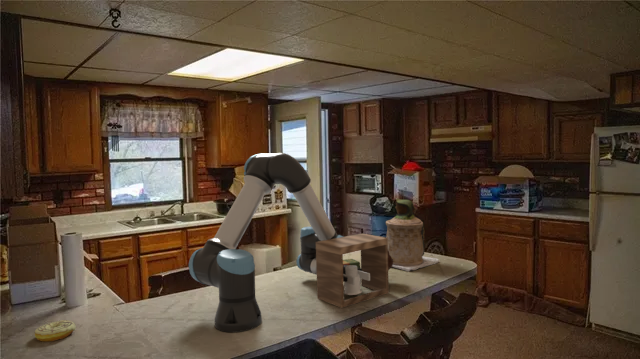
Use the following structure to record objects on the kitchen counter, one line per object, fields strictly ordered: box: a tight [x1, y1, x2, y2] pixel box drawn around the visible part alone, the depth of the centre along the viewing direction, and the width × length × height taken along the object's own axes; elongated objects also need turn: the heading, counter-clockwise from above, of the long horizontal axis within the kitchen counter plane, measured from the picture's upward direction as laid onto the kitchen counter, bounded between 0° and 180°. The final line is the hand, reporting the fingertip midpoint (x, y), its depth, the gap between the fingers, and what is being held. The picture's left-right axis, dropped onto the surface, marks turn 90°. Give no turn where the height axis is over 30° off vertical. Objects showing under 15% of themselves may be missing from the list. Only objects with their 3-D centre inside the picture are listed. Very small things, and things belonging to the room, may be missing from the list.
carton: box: [343, 258, 361, 268], centre depth 203 cm, size 8×16×4 cm, turn 113°
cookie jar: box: [385, 197, 440, 272], centre depth 212 cm, size 25×25×32 cm
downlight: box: [343, 265, 363, 296], centre depth 165 cm, size 8×7×10 cm
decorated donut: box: [34, 319, 77, 343], centre depth 136 cm, size 10×11×4 cm
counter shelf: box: [316, 233, 390, 309], centre depth 165 cm, size 24×14×22 cm, turn 128°
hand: (361, 279), depth 161 cm, fingers closed on downlight, 7 cm apart
